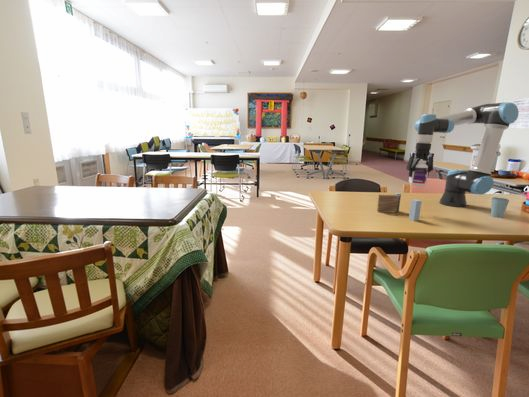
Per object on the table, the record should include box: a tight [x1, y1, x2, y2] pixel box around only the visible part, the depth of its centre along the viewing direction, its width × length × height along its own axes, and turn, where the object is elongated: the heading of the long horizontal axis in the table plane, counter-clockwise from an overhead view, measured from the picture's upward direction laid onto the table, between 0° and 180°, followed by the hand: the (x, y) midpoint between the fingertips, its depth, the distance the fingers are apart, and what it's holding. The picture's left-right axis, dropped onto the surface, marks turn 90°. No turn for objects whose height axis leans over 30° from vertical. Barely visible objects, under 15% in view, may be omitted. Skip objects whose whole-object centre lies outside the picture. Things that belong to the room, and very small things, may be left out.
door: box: [376, 194, 402, 213], centre depth 173 cm, size 2×12×10 cm, turn 87°
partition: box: [393, 192, 423, 222], centre depth 166 cm, size 3×20×11 cm, turn 10°
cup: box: [490, 196, 510, 219], centre depth 168 cm, size 8×8×10 cm
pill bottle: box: [409, 159, 428, 187], centre depth 169 cm, size 8×8×14 cm
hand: (417, 182), depth 170 cm, fingers closed on pill bottle, 8 cm apart
